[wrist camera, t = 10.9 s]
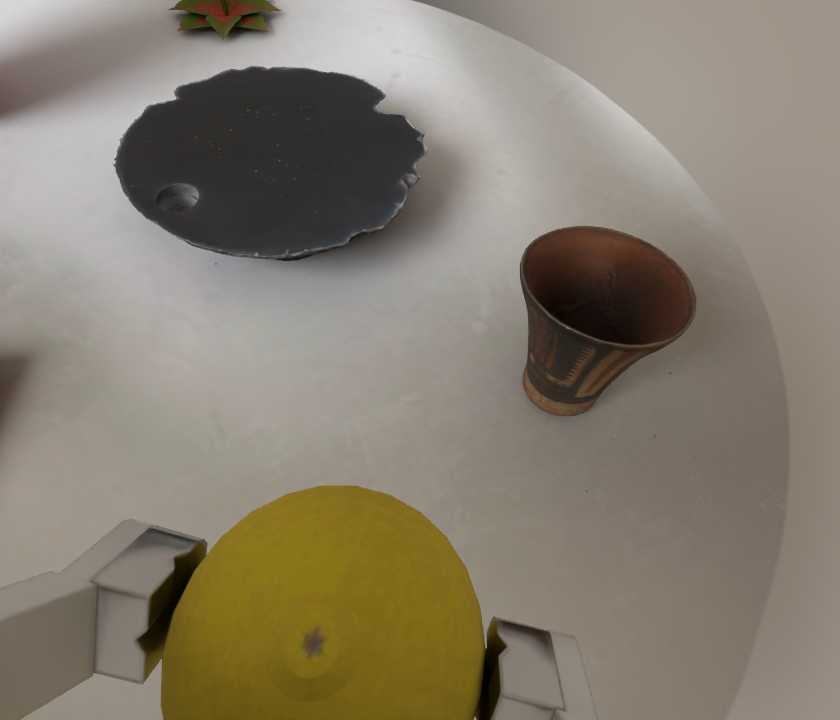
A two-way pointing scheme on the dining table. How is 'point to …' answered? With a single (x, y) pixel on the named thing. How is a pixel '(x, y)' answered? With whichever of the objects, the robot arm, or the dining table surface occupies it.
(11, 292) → the dining table surface
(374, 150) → the board
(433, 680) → the lemon
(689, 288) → the cup
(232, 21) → the lily flower
